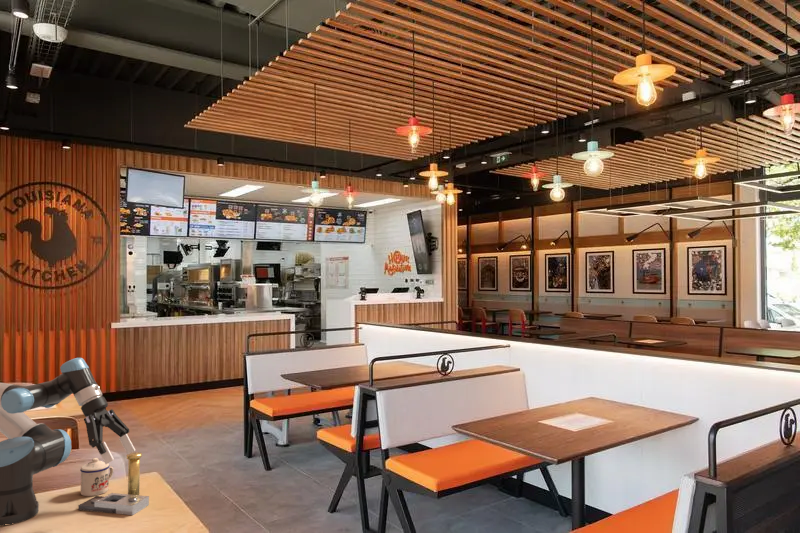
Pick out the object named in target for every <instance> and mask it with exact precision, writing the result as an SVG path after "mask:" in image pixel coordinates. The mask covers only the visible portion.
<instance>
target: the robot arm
mask: <svg viewBox="0 0 800 533" xmlns="http://www.w3.org/2000/svg"><path fill="white" fill-rule="evenodd" d="M59 368H60V374H59V375H58V376H56V377H55V378H54V379H52V380H49V381H44V382H40V383H35V384H30V385H19V384H12V383H6V382H0V433H1V434H2V435H4V436H5V437H6V438H7V439H4V440H1V441H0V525H4V526H6V525H5V524H10V525H13V524H12V523H14V524H19V523H21V522H25V521H27V520H30V519H31V518H33V517H35V516H36V515H37V514H38V513H39V506H40V505H39V501H38V500H37V497H36V493H35V492H34V487H33V481H34V476H33V475H36V474H39V473H41V472H43V471H46V470H48V469H51V468H55V467H57V466H58V465H60V464H62V463H64V462H65V461H67V459H68V458H69V456H70V454H71V451H72V440H71V437H70V435H69V433H68V432H67V431H65V430H63V429H60V428H59V429H57V428H56V429H52V428H50V426H48V425H46V423H43V422H41V423H37V422H35V421H34V420H33V419H32V418H31V417H29V415H27V414H26V413H25V412H27V411H30V410H34V409H36V408H45V409H49V408H52V407H54V406H56V405H58V404H60V403H61V402H63V401H64V400H65V399H66V398H69V397H70V396H71V395H72V394H73V396H74V398H75V401H76V402H77V404H78V406H79V407H80V409H81V412H82V413H83V416H85V417H84V418H83V421H84V424H85V428H86V433H87V440H88V444H89V446H90V447H92V448H95V447H96V449H97V451H98V453H99V455H100V457H101V458H102V460H103V461H102V462H105V464H108V463H109V464H110V463H111V462H112V461H114V460H115V458H114V456H113V454H112V453H111V451H110V449H109V447H108V445H107V443H106V441H103V440H104V437H103V436H104V435H103V434H104V431H103V430H104V429H103V428H104V427H105V428H108V429H109V430H110V431H112V432H114V433H115V434H116V435H117V436H119V437H118V439H119V441H120V443H121V445H122V448H123V449H124V450H125V453H126V456H127V455H129V454H131V453H134V452H135V451H136V448H135V446H134V445H133V442H132V441H131V439H130V437H129V435H128V433H130V429H129V427H128V426H127V425H126V424H125V423H124V422H123V421H122V420H121V419H120V417H118V415H117V414H116V413H115V411H114V410H113V408H111V409H110V410H107V407H108V406H109V404H108V401H107V400H106V398H105V396H103V392H102V390H101V389H100V386H99V385H98V383H97V382H96V380H95V377H94V375H93V373H92V371H91V369H90V367H89V365H88V364H87V362H86V361H85V359H84V358H82V357H76V358H72V359H70V360H67V361H66V362H64V363H62V364H61V366H60V367H59Z"/></svg>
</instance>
